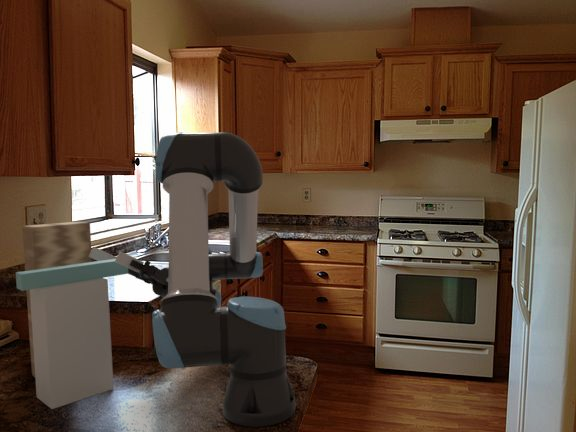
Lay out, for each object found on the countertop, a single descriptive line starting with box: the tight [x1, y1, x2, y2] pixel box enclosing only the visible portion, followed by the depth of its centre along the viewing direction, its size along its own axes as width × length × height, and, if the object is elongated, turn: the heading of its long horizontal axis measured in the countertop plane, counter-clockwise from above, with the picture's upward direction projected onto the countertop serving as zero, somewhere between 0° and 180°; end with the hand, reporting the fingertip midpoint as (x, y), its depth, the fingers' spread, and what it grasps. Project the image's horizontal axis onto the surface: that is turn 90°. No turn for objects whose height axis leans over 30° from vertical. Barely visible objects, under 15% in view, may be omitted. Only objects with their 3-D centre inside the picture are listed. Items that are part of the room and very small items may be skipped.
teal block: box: [15, 259, 129, 292], centre depth 117 cm, size 24×4×4 cm, turn 135°
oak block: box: [21, 221, 93, 378], centre depth 130 cm, size 14×7×38 cm, turn 135°
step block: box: [30, 277, 114, 410], centre depth 117 cm, size 14×9×26 cm, turn 135°
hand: (103, 254), depth 121 cm, fingers open, 13 cm apart
